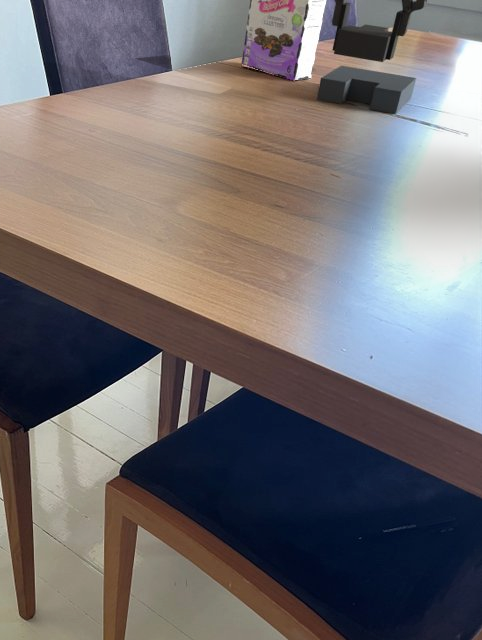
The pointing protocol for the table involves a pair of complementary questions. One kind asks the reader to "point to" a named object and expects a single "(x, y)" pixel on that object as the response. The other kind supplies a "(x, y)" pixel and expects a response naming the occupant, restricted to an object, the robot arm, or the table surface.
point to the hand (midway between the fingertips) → (362, 53)
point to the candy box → (283, 36)
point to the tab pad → (363, 42)
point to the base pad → (366, 88)
